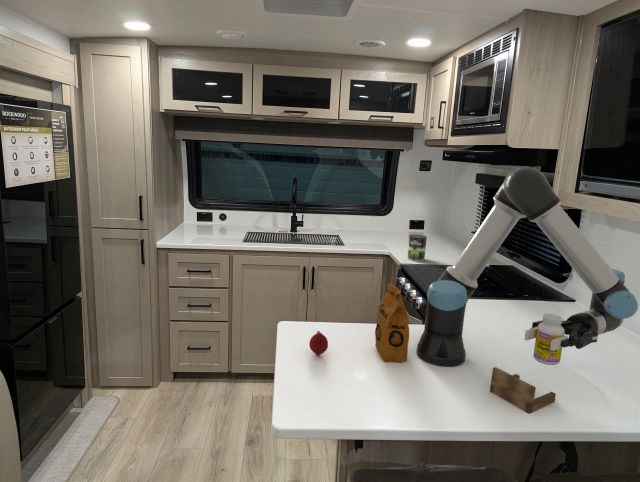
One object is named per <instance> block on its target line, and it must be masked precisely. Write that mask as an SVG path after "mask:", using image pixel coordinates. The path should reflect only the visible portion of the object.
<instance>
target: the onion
mask: <svg viewBox="0 0 640 482" xmlns="http://www.w3.org/2000/svg"><path fill="white" fill-rule="evenodd" d="M308 342H309V348H310V350H311V352H313V353H314V354H315V355H316V356H320V355H322V354H324V353H325V352H326V351H327V350H328V348H329V344H328V343H329V340H328V339H327V337H326V336H325V335H324V334H323V333H322V332H321V331H320V330H317V331H316V333H315V334H313V335H312V336H311V338H310V339H309V341H308Z"/></svg>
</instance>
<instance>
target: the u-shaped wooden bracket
mask: <svg viewBox="0 0 640 482" xmlns="http://www.w3.org/2000/svg"><path fill="white" fill-rule="evenodd" d="M520 377H521V375H520V374H518V373H514V374H510V373H509V372H507V371H504V370H503V369H500V368H498V367H496V366H494V367H492V371H491V379H490V388H489V392H490V393H492V394H494V395H496V396H497V397H499V398H501V399H503V400H504V401H506V402H508V403H509V404H511V405H513V406H515V407H517V408H518V409H520V410H522V411H524V412H525V413H527V414H532V413H534V412H535V411H536V412H537V411H538V410H540V409H543V408H545V407H547V406H549V405H552V404H553V403H554V404H555V402H556V397H557V393H555V392H553V391H550V392H547V393H544V394H542V395H540V396H538V397H536V395H535V393H536V389H537V387H536V386H534V385H532V384H530V383H528V382H526V381H524V380H522V379H520Z"/></svg>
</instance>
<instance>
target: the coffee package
mask: <svg viewBox="0 0 640 482" xmlns="http://www.w3.org/2000/svg"><path fill="white" fill-rule="evenodd" d="M386 288H387V289H388V290H387V292H386V293H385V294H384V296H383V297H382V299H381V301H380V302H379V303H378V306H377V314H376V316H377V317H376V325H375V330H374V337H375V344H374V346H375V347H376V349H377V351H378V353H379V355H380V356H381V358H382V359H383V361H384V362H390V363H391V362H392V363H396V362H397V363H405V362H407V360H408V359H407V358H408V349H409V348H408V347H409V342H410V341H409V340H410V327H409V317H408V312H407V309H406V306H405V303H404V300H403V297H402V293H401V291H400V290H401V289H399V288H398V287H397V286H396V285H394V284H393V283H391V282H390V283H388V284H387V286H386Z"/></svg>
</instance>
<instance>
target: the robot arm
mask: <svg viewBox="0 0 640 482" xmlns="http://www.w3.org/2000/svg"><path fill="white" fill-rule="evenodd" d="M493 201H494V205H493V207H492V208H491V210H490V211H489V213H488V214H487V216H486V217H485V218H484V220H483V221H482V222H481V225H480V226H479V227H478V229H477V231H475V233H474V234H473V237H472V238H471V239H470V241H469V243H468V244H467V245H466V247H465V248H464V249H463V251H462V252H461V254H460V255H459V257H458V259H457V260H456V261H455V263H454V264H453V265H449V266H447V267H446V268H445V270H444V271H443V272H442V274H441V276H440V277H439V278H438V279H437V280H436V281H433V282H432V283H431V284H430V285H429V286H428V290H427V293H426V297H427V300H426V311H425V319H424V329H423V332H422V334H421V336H420V338H419V341H418V343H417V346H416V355H417V356H418V357H419V358H420V359H422V360H423V361H424V362H427V363H429V364H432V365H436V366H441V367H457V366H460V365H462V364H464V363H465V361H466V356H467V354H466V353H467V351H466V349H465V344H464V338H463V330H464V323H465V322H464V321H465V314H466V313H465V312H466V309H467V308H466V307H467V303H468V301H469V299H470V298H471V297H472V295H473V294H474V292H475V291H476V289H477V288H478V286H479V284H478V280H477V279H478V278H479V277H480V275H481V274H482V273H483V271H484V270H485V269H486V267H487V265H488V264H489V262H490V261H491V260H492V258H493V257H494V255H496V253H497V251H498V250H499V248H500V247H501V245H502V244H503V243H504V242H505V240H506V238H507V237H508V236H509V234H510V232H511V231H512V230H513V229H514V227H515V226H516V225H517V223H518V221H519V220H520V219H523V218H527V219H528V221H529V222H532V223H536V225H537V226H538V227H539V229H540V230H541V231H542V232H543V234H545V236H546V237H547V238H548V239H549V240H550V242H551V243H552V244H553V246H554V247H555V248H556V249H557V250H558V252H559V253H560V254H561V256H563V258H564V259H565V260H566V262H567V263H568V264H569V266H570V267H571V268H572V269H573V271H575V273H576V275H578V277H579V278H580V279H581V280H582V281H583V283H584V284H585V285H586V286H587V288H588V289H589V290H590V291H591V300H590V304H589V309H588V310H584V311H581V312H578V313H575V314H571V315H570V316H569V317H568V318H567V319H566V320H562V323H561V326H562V327H563V328H564V331H565V333H564V336H563V337H560V338H557V339H554V340H551V345H550V350H551V351H554V350H557V349H560V348H562V349H564V348H568V347H569V348H570V347H571V348H572V347H575V349H577V350H581V349H583V348H584V347H587V346H589V345H590V344H592V343H597V342H598V338H599V336H600V335H603V334H606V333H608V332H612V331H614V330H616V329H618V328H619V327H621V326H622V324H623V322H624V320H625V319H629V318H631V317H633V316H634V315H635V314H636V313H637V312H638V309H639V302H638V300H637V298H636V297H635V295H634V294H633V293H632V292H631V291H630V290H629V288H628V287H627V286H626V285H625V283H626V280H625V279H626V278H625V277H626V274H625V273H624V271H621V270H618V269H614V268H611V267H610V266H609V264H608V263H607V262H606V260H605V259H604V258H603V257H602V256H601V254H600V253H599V252H598V251H597V250H596V248H595V247H594V246H593V244H592V243H591V241H589V240H588V238H587V237H586V236H585V235H584V234H583V232H582V231H581V229H580V228H579V227H578V226H577V225H576V224H575V222H574V221H573V220H572V219H571V217H570V216H569V215H568V213H566V211H565V210H564V209H563V207H562V206H561V203H562V200H561V199H560V198H559V197H558V195H557V194H556V192H555V191H554V190H553V188H552V186H551V185H550V182H549V181H548V178H547V177H546V176H545V174H544V173H543V172H541V171H540V170H539V169H537V168H534V167H532V166H525V165H524V166H523V165H522V166H519V167H516V168H514V169H512V170H510V171H509V172H508V173H507V174H506V176H505V178H504V180H503V183H502V184H501V185H500V186H499V188H498V190H497V192H496V193H495V194H494V196H493ZM542 322H543V319H542V320H538V321H532V324H531V328H529V329H526V330H525V333H524V340H525V341H530V340H534V339H536V334H537V327H538V325H539V324H540V323H542Z"/></svg>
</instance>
